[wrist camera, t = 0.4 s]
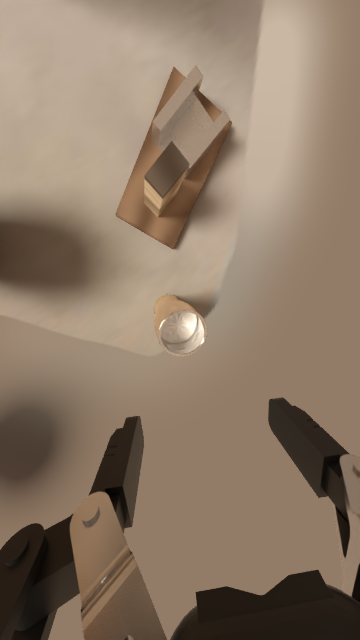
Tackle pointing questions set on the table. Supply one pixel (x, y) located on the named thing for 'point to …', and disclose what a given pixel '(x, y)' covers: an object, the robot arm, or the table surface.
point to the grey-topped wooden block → (164, 179)
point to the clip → (188, 122)
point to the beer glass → (178, 326)
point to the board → (180, 206)
